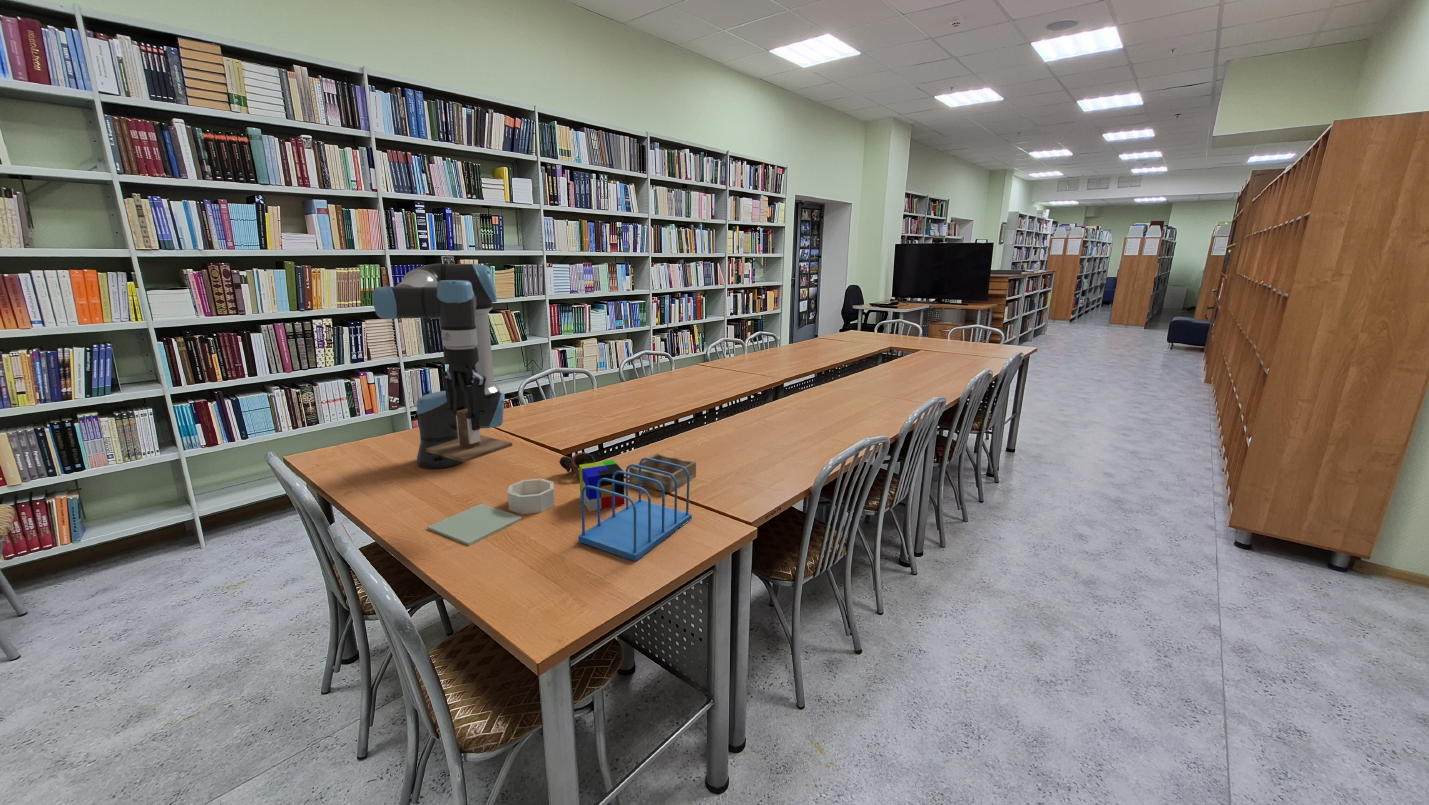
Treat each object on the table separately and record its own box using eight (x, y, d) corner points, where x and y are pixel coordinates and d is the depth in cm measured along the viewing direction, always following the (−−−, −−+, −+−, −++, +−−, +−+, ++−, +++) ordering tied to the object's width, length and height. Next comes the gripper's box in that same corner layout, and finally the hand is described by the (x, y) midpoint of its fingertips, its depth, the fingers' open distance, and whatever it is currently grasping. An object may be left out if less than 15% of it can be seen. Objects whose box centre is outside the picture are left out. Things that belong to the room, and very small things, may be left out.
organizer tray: (629, 482, 167) (629, 467, 166) (657, 467, 180) (657, 453, 179) (669, 493, 160) (669, 477, 159) (695, 476, 173) (696, 462, 172)
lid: (426, 451, 131) (421, 412, 129) (475, 436, 143) (472, 400, 141) (464, 462, 125) (460, 421, 123) (512, 445, 137) (509, 408, 134)
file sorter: (635, 562, 123) (634, 500, 119) (577, 543, 131) (575, 484, 127) (692, 519, 144) (692, 466, 141) (639, 505, 152) (638, 453, 149)
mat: (427, 528, 136) (427, 526, 136) (481, 505, 150) (481, 503, 149) (469, 545, 128) (469, 543, 128) (522, 519, 142) (522, 517, 142)
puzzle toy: (589, 511, 148) (588, 477, 145) (580, 497, 156) (579, 464, 154) (624, 504, 152) (623, 471, 150) (613, 491, 161) (613, 459, 158)
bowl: (500, 506, 149) (498, 490, 148) (533, 491, 159) (532, 476, 158) (530, 517, 143) (529, 500, 142) (563, 501, 153) (562, 484, 152)
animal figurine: (597, 469, 179) (601, 453, 174) (590, 491, 172) (594, 475, 166) (561, 460, 177) (563, 444, 172) (553, 482, 170) (555, 465, 165)
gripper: (424, 345, 128) (434, 439, 134) (469, 352, 121) (478, 451, 127) (452, 342, 135) (461, 431, 141) (497, 348, 127) (504, 442, 133)
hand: (469, 440), depth 134 cm, fingers closed on lid, 3 cm apart
